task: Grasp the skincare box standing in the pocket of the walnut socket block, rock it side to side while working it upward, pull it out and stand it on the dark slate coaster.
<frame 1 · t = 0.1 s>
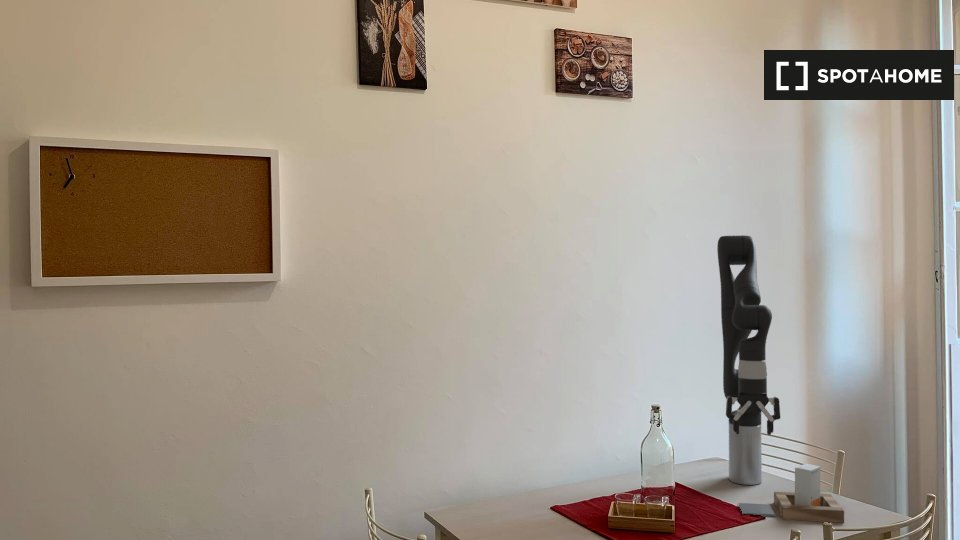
hand: (753, 434, 215), 17 cm above the table, tool pointing down, fingers open, 8 cm apart
slate coaster: (756, 510, 203), on the table
socket block: (807, 512, 201), on the table
skincare box: (807, 512, 201), resting in socket block
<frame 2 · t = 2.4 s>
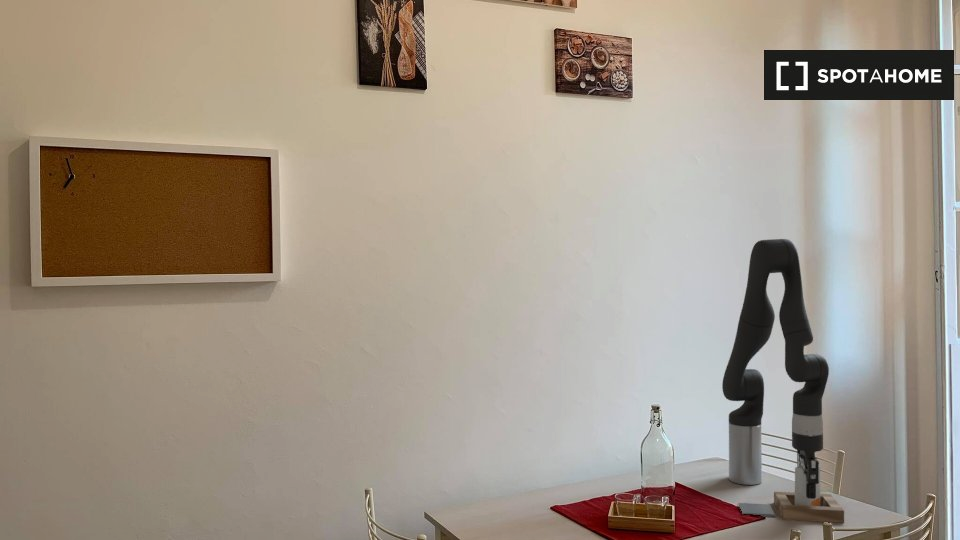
hand: (807, 493, 201), 5 cm above the table, tool pointing down, fingers closed on skincare box, 7 cm apart
skincare box: (807, 512, 201), resting in socket block, touching gripper
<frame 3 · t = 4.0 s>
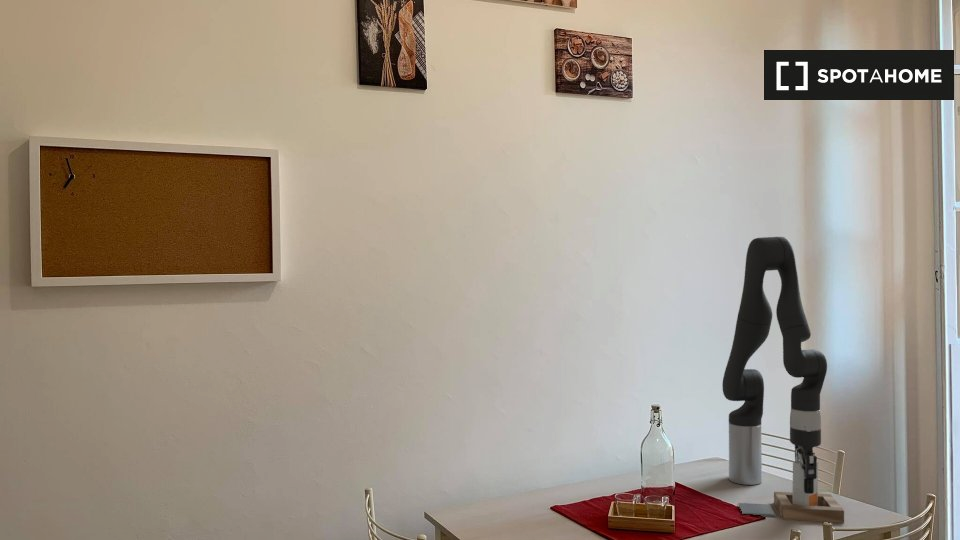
hand: (805, 488, 201), 6 cm above the table, tool pointing down, fingers closed on skincare box, 7 cm apart
skincare box: (805, 507, 202), point 1 cm above the table, touching gripper
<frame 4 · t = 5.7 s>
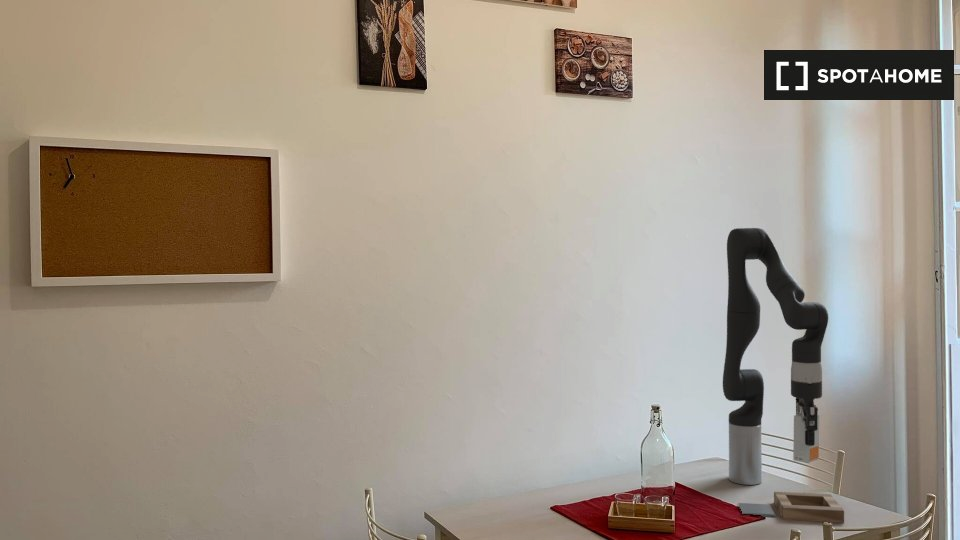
hand: (806, 441, 201), 19 cm above the table, tool pointing down, fingers closed on skincare box, 7 cm apart
skincare box: (806, 460, 201), point 13 cm above the table, touching gripper
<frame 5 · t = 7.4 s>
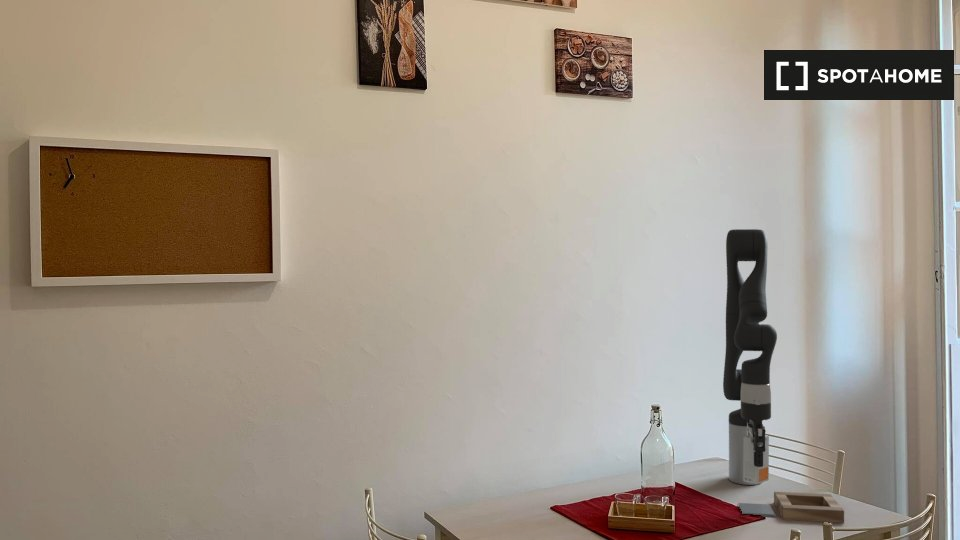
hand: (756, 462, 202), 13 cm above the table, tool pointing down, fingers closed on skincare box, 7 cm apart
skincare box: (756, 481, 202), point 8 cm above the table, touching gripper
when the fingers open (7 cm above the table, at t = 8.9 s): skincare box stays where it is, resting on slate coaster.
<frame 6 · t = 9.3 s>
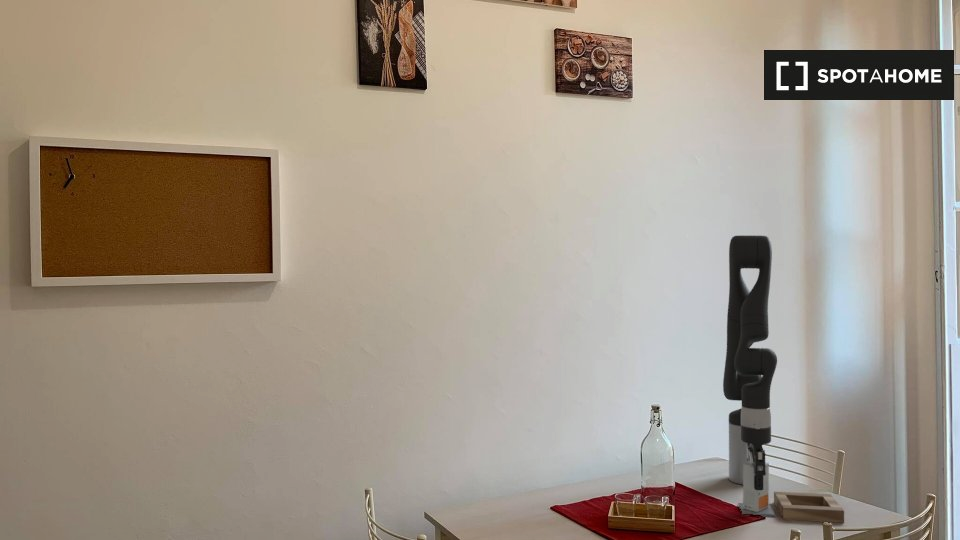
hand: (756, 484, 203), 7 cm above the table, tool pointing down, fingers open, 8 cm apart
skincare box: (756, 509, 203), resting on slate coaster
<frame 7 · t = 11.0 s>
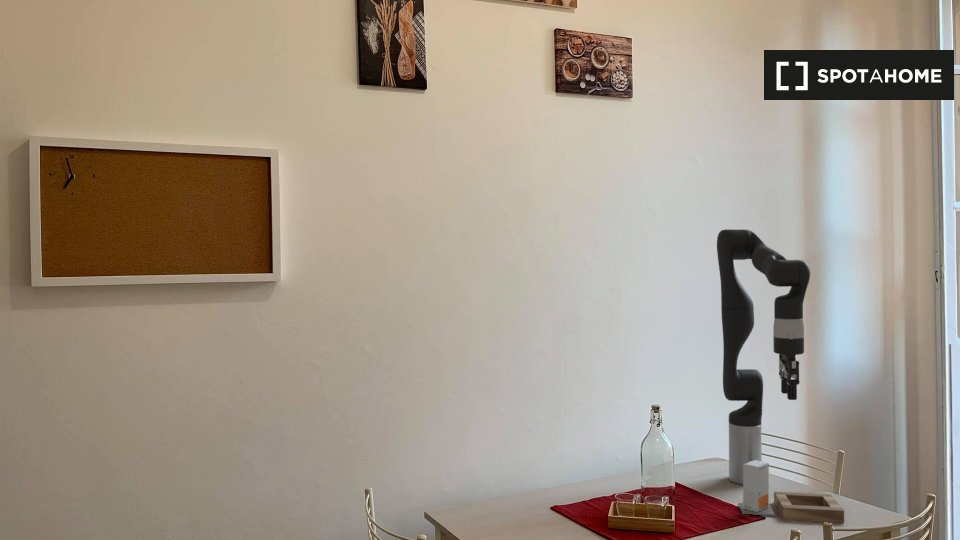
hand: (788, 396, 203), 30 cm above the table, tool pointing down, fingers open, 8 cm apart
nothing on the table moved.
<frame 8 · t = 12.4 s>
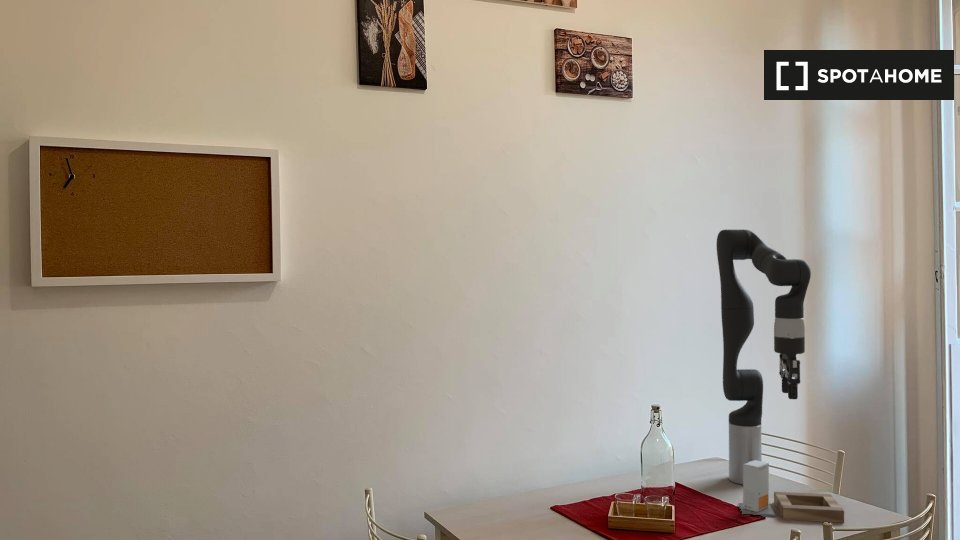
hand: (789, 395, 203), 30 cm above the table, tool pointing down, fingers open, 8 cm apart
nothing on the table moved.
at the end: skincare box 0.2 cm from the slate coaster (horizontally); skincare box tilted 0°; skincare box resting on slate coaster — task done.
